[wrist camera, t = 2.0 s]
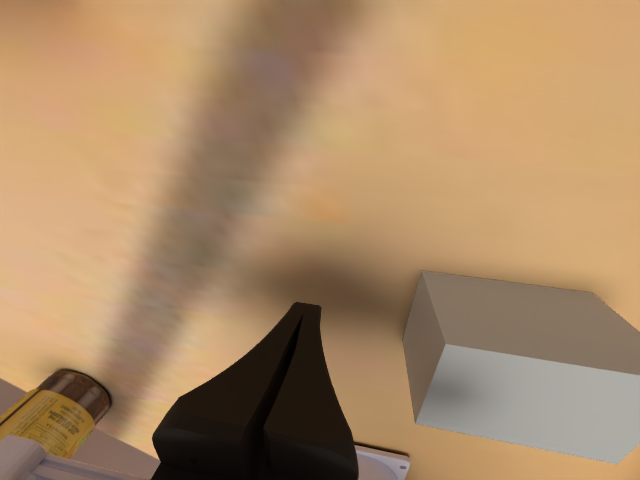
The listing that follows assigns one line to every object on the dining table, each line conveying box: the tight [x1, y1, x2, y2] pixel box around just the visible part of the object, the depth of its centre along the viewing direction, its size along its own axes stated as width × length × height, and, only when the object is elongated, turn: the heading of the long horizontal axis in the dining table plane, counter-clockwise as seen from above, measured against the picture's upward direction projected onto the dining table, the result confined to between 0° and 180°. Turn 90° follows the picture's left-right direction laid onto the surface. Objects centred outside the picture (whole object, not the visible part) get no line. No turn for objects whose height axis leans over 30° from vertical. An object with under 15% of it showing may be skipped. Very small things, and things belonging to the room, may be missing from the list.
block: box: [403, 270, 640, 464], centre depth 12 cm, size 5×8×5 cm, turn 87°
